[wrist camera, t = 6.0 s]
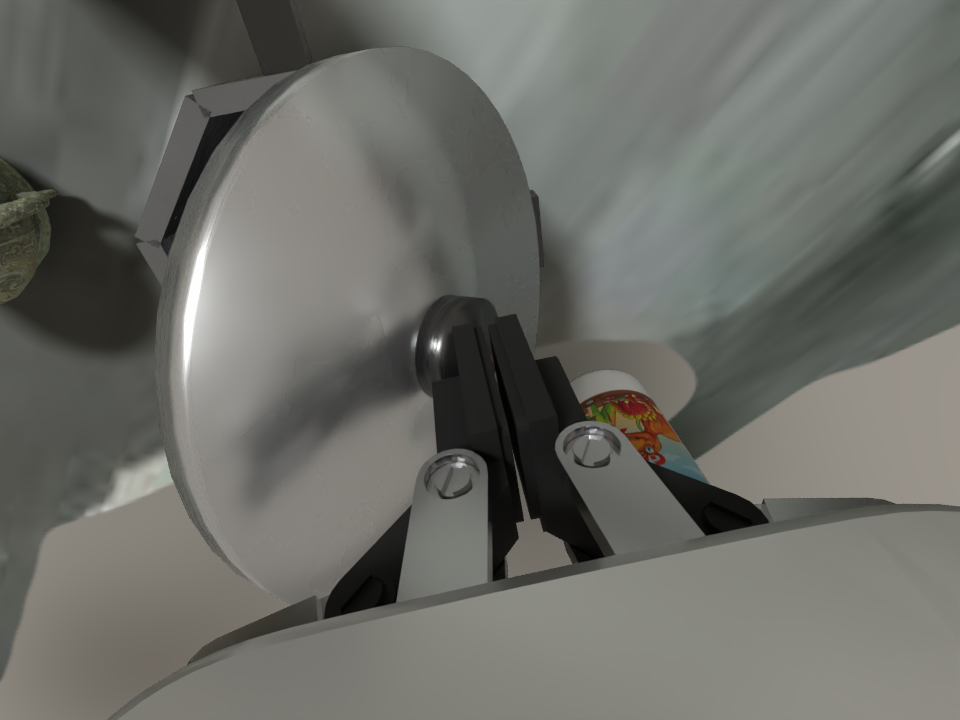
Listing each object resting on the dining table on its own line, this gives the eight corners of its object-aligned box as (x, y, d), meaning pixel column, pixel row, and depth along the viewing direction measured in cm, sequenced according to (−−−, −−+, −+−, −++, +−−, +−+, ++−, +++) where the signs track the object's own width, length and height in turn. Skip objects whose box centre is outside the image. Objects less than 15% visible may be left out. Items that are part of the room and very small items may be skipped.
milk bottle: (663, 389, 36) (874, 674, 20) (599, 453, 40) (736, 744, 23) (590, 350, 33) (769, 648, 17) (527, 423, 37) (626, 733, 20)
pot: (478, -47, 20) (515, -92, 13) (523, 330, 32) (556, 412, 25) (134, 18, 20) (-9, 6, 13) (303, 375, 31) (274, 471, 24)
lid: (496, 24, 15) (555, 12, 14) (535, 377, 23) (574, 384, 22) (-132, 145, 5) (-62, 132, 4) (337, 698, 13) (394, 734, 12)
